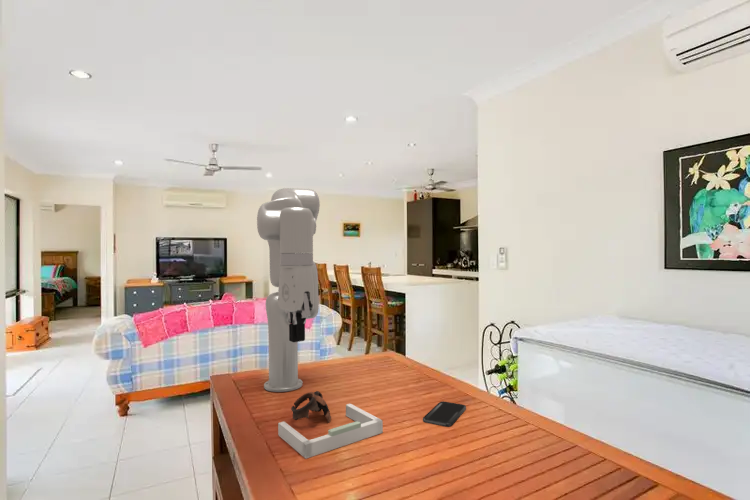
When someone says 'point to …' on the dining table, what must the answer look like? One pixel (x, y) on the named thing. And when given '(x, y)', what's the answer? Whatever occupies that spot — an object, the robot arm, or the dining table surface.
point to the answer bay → (334, 433)
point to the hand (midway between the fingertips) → (297, 340)
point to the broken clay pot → (310, 406)
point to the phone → (444, 414)
